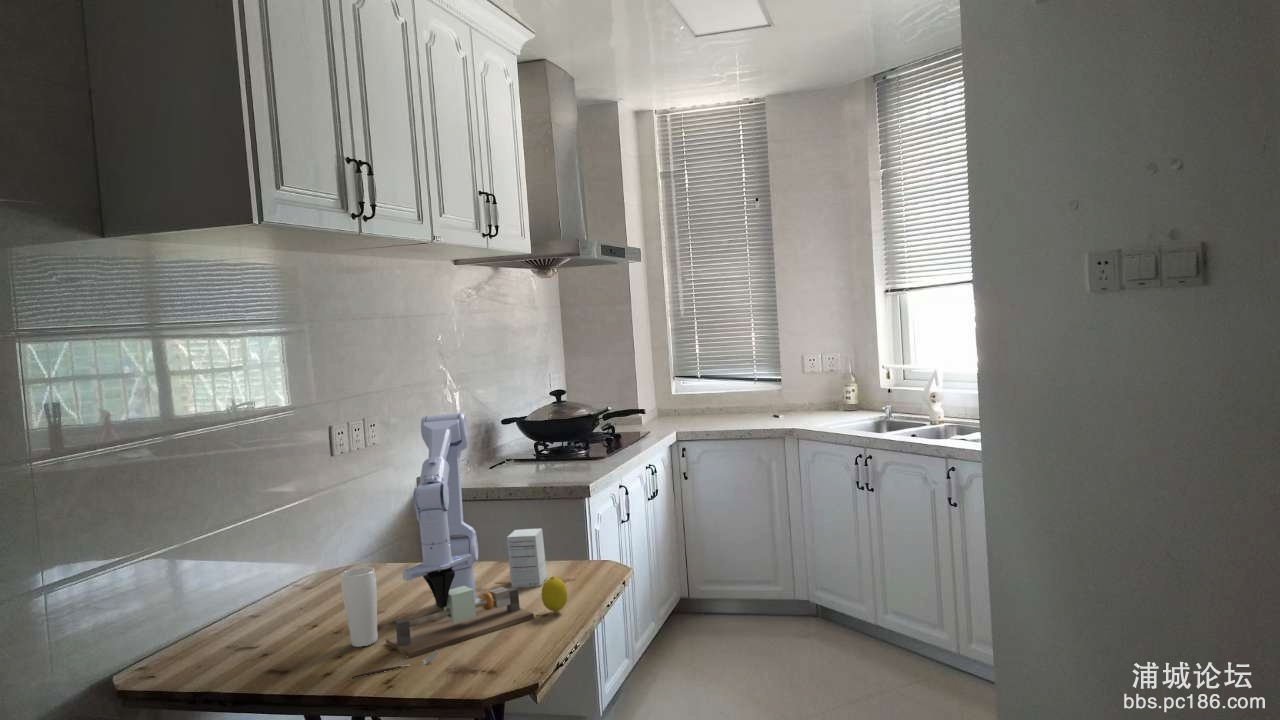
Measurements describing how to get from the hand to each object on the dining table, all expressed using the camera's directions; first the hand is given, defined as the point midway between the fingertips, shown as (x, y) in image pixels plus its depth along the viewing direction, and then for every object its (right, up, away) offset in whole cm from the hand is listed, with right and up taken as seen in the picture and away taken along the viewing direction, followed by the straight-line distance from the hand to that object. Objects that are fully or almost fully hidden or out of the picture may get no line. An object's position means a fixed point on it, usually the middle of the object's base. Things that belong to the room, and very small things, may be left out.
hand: (442, 606), depth 176 cm
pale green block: (+3, -3, +2) cm, 5 cm away
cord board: (+4, -6, +3) cm, 7 cm away
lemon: (+23, -4, +9) cm, 25 cm away
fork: (-5, -8, -16) cm, 18 cm away
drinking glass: (-16, -8, 0) cm, 18 cm away
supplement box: (+14, -4, +33) cm, 36 cm away
